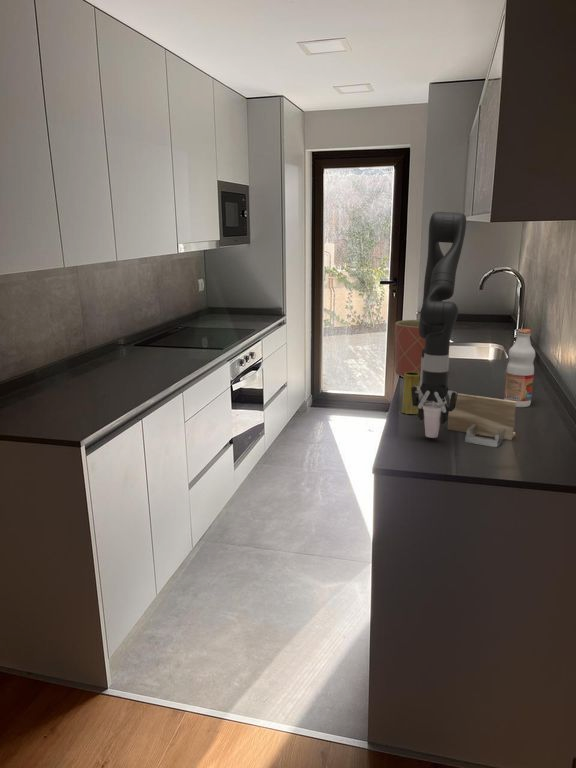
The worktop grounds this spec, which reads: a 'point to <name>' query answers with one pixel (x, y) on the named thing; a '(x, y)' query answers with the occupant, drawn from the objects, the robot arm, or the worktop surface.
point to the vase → (409, 392)
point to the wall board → (483, 415)
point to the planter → (408, 347)
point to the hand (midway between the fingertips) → (432, 421)
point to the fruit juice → (520, 370)
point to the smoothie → (432, 419)
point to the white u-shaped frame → (474, 439)
